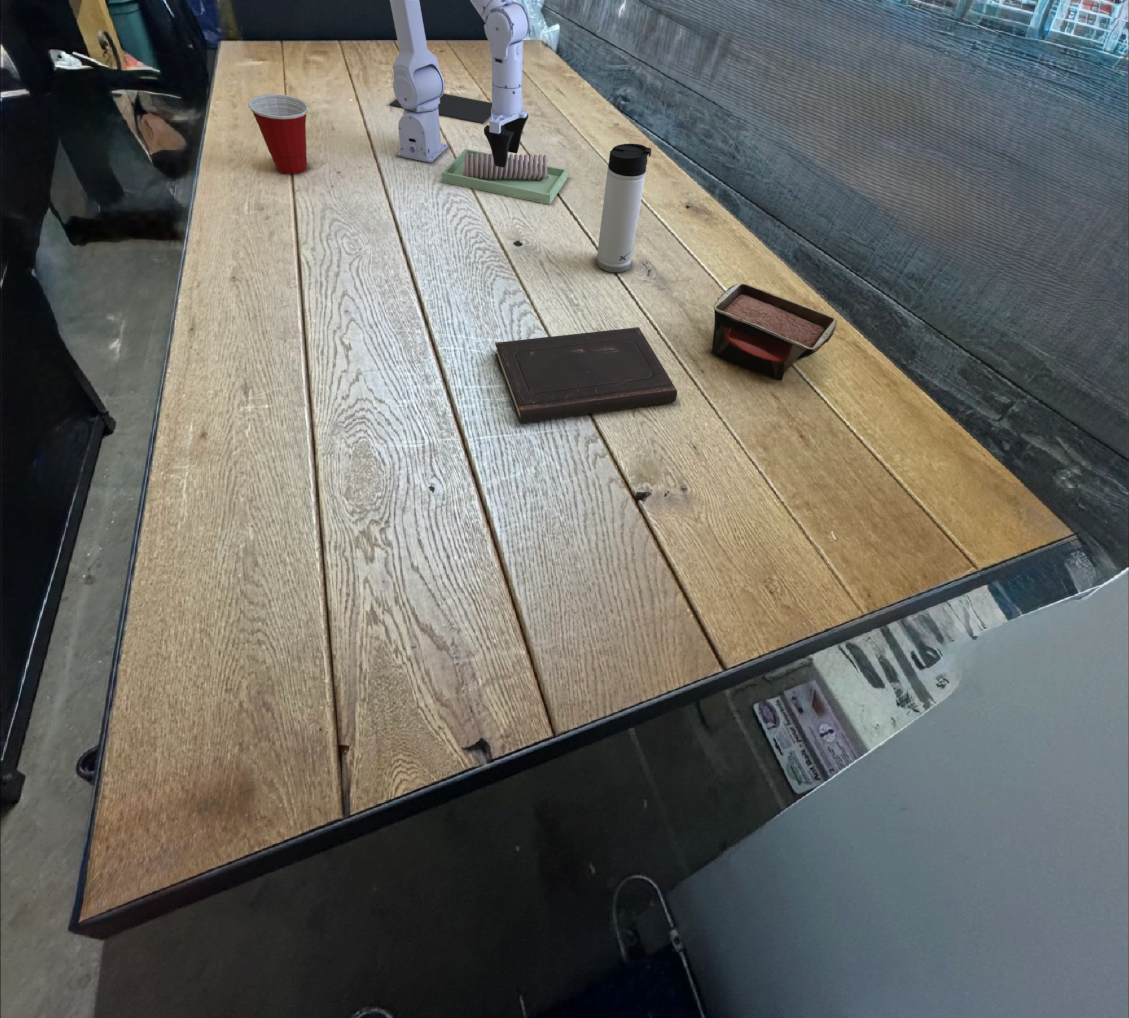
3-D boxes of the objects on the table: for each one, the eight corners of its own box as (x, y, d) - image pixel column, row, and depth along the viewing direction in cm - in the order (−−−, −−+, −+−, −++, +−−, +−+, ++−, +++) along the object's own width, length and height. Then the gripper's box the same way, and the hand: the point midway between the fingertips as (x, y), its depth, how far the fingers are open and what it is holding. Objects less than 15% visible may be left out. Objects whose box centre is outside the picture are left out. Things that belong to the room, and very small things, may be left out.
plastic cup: (312, 182, 130) (298, 115, 121) (257, 177, 129) (239, 110, 120) (326, 159, 137) (314, 95, 128) (274, 154, 136) (258, 89, 127)
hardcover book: (495, 355, 98) (495, 342, 97) (636, 339, 104) (639, 326, 102) (520, 425, 89) (520, 413, 87) (674, 404, 94) (678, 391, 92)
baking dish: (738, 323, 113) (744, 269, 105) (838, 354, 104) (853, 298, 97) (693, 365, 106) (697, 310, 98) (797, 403, 97) (809, 345, 90)
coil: (548, 151, 136) (461, 149, 134) (551, 158, 133) (462, 156, 130) (547, 175, 140) (462, 174, 137) (550, 182, 136) (463, 181, 134)
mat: (482, 123, 156) (482, 122, 156) (389, 105, 159) (389, 104, 158) (500, 105, 164) (500, 104, 164) (412, 88, 167) (411, 87, 167)
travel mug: (629, 276, 116) (649, 157, 101) (593, 269, 117) (607, 150, 101) (634, 258, 120) (653, 142, 105) (599, 252, 121) (613, 136, 105)
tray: (549, 204, 132) (550, 195, 130) (442, 182, 134) (441, 172, 133) (567, 178, 140) (568, 169, 138) (465, 157, 143) (465, 148, 141)
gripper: (514, 99, 118) (513, 176, 129) (538, 75, 128) (535, 149, 138) (478, 92, 119) (480, 169, 130) (504, 69, 128) (504, 143, 139)
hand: (506, 158), depth 134 cm, fingers open, 7 cm apart
